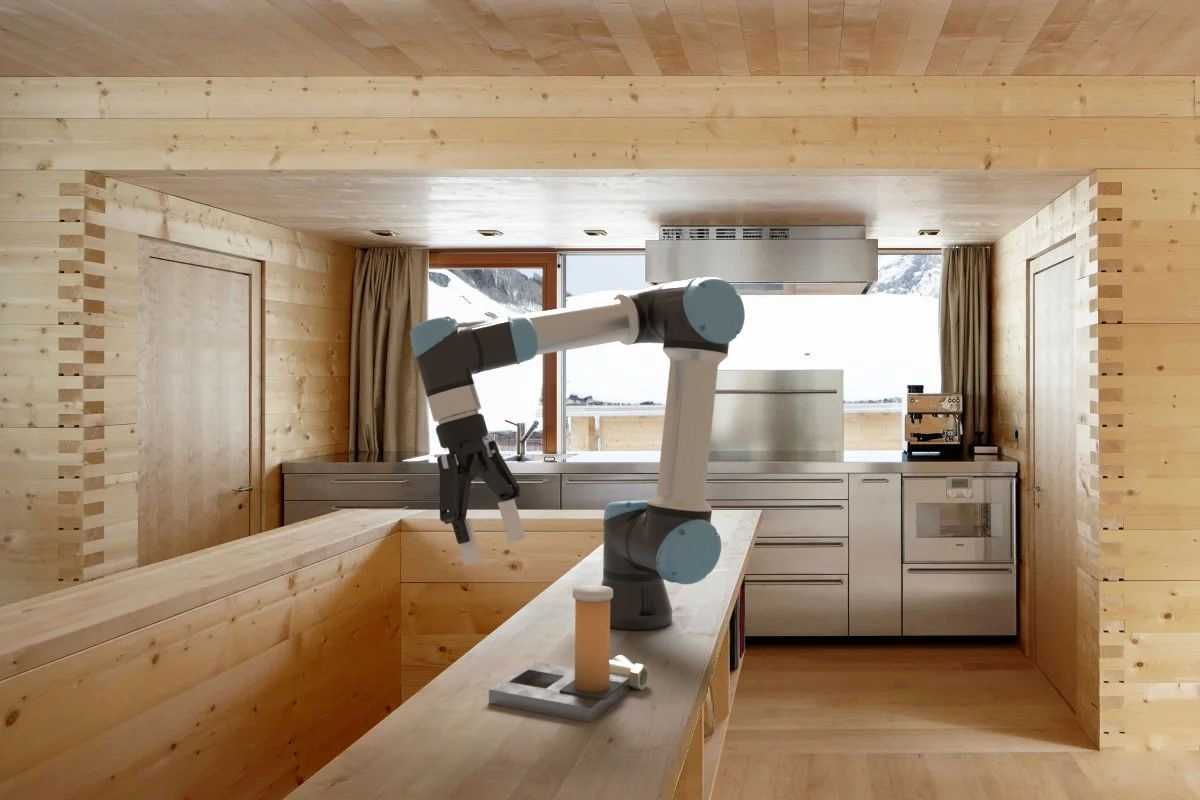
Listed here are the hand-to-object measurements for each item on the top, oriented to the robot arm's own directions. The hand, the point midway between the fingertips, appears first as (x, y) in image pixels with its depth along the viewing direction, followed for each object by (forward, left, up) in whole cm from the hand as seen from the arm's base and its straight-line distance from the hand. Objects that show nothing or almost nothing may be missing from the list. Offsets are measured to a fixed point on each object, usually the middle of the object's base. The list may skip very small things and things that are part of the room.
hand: (496, 551), depth 140 cm
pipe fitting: (-8, +18, -20) cm, 29 cm away
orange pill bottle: (+2, +17, -17) cm, 25 cm away
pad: (+2, +17, -18) cm, 25 cm away
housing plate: (+2, +12, -20) cm, 23 cm away
